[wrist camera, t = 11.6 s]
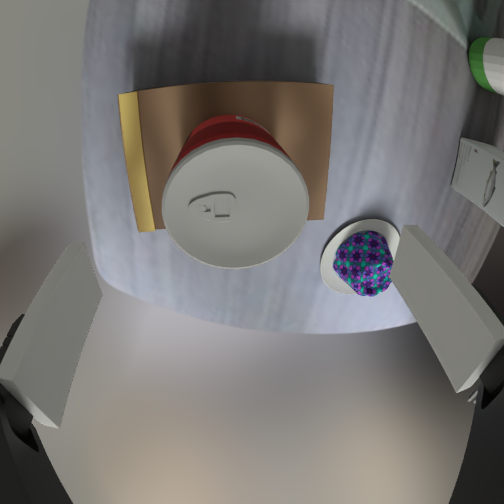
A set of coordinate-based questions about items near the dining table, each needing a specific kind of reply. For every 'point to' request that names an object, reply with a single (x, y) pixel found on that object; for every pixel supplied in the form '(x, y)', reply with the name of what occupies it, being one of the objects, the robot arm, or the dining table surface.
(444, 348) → the robot arm
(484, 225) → the dining table surface
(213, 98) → the wooden block
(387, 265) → the pudding
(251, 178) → the canned food
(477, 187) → the supplement box
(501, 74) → the wine bottle
